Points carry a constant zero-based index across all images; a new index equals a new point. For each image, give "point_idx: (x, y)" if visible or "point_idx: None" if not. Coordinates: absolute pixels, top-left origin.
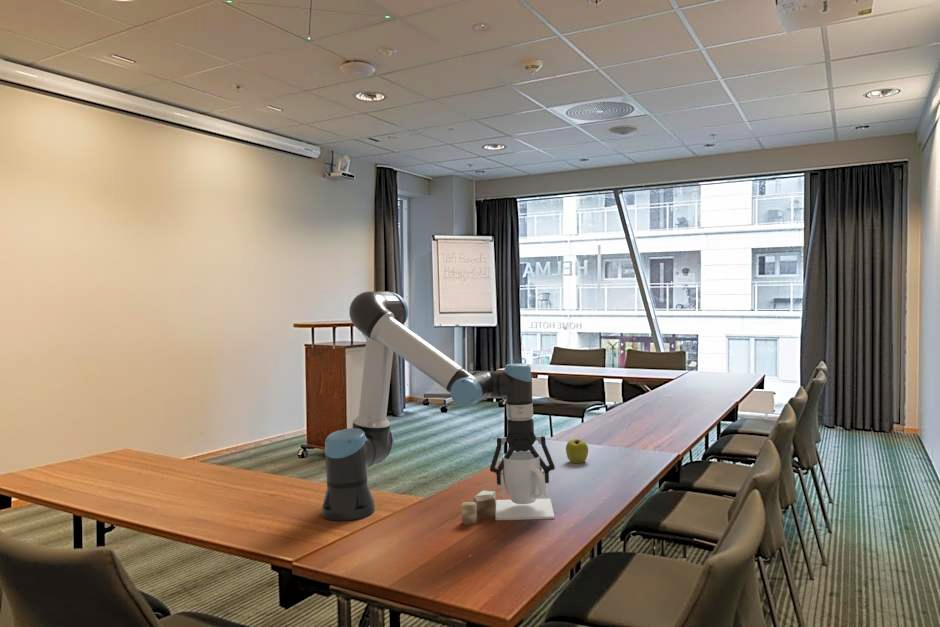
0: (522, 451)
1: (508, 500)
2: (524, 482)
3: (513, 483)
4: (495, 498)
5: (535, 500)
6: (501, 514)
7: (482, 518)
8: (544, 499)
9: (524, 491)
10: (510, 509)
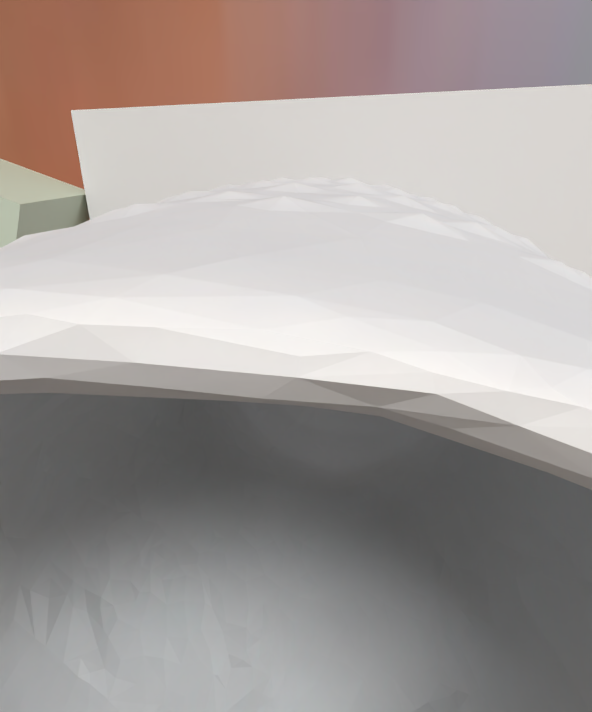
0: (206, 380)
1: (191, 136)
2: (337, 708)
3: (200, 653)
4: (61, 202)
5: (468, 155)
6: None
7: None
8: (574, 121)
9: (339, 598)
10: None
